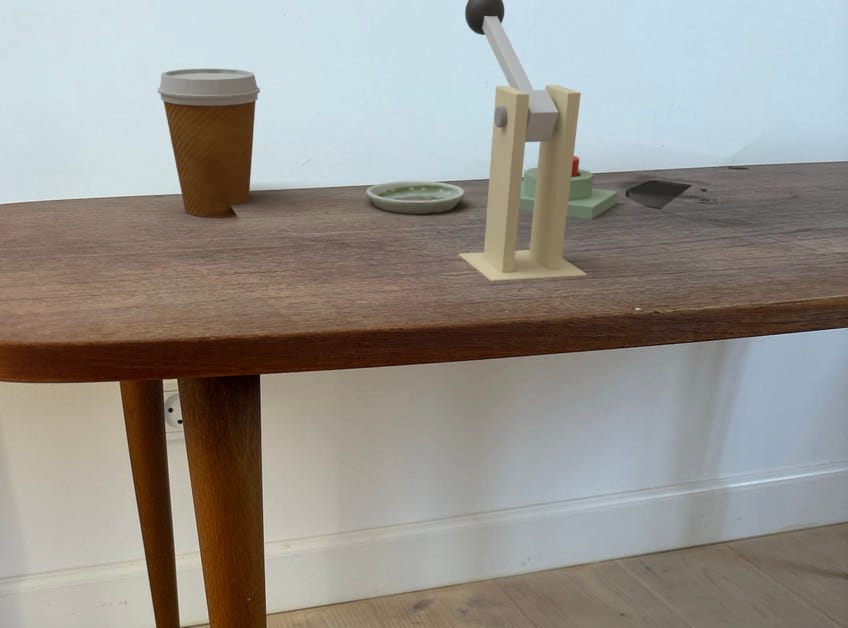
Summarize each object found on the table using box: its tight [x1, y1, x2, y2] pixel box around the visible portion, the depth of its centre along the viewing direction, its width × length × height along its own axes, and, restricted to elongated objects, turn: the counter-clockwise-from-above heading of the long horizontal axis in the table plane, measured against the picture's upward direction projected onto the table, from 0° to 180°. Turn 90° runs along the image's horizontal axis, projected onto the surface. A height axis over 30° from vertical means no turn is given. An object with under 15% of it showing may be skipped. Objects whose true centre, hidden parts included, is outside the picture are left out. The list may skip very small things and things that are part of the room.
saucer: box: [365, 180, 466, 215], centre depth 103 cm, size 10×10×2 cm
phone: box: [624, 179, 693, 209], centre depth 108 cm, size 8×1×15 cm
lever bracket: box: [458, 84, 588, 283], centre depth 82 cm, size 8×8×14 cm
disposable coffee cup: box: [157, 68, 261, 218], centre depth 101 cm, size 10×10×12 cm
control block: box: [519, 167, 619, 220], centre depth 103 cm, size 10×8×4 cm
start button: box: [571, 155, 580, 177], centre depth 102 cm, size 4×4×2 cm
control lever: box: [464, 0, 558, 143], centre depth 82 cm, size 17×3×3 cm, turn 14°
